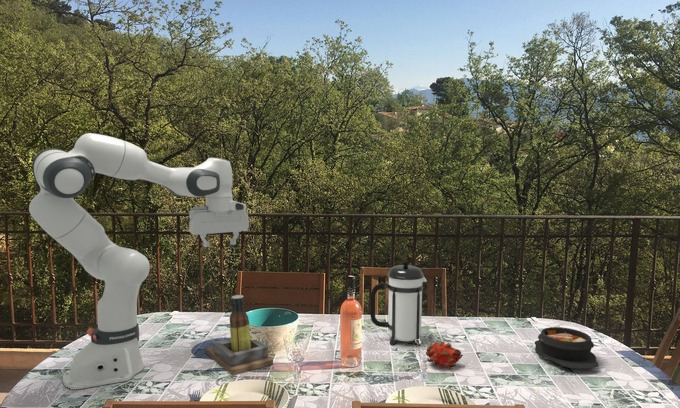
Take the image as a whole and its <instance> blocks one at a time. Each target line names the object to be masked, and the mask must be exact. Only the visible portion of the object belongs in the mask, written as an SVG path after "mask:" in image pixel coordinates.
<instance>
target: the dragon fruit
mask: <svg viewBox="0 0 680 408" xmlns="http://www.w3.org/2000/svg"><path fill="white" fill-rule="evenodd" d="M425 355H426V356H427V357H428V358H427V361H428V363H434V366H436V367H439V368H440V369H444V367H447V368H450V369H452V368H455V367H456V364H457V363H458V362H459V361H460V360H461V358H462V357H463V356H464V354H462V352H461V350H460V349H457V348H454V347H452V343H450V342H448V343H445V341H440V342H437V341H433V343H431V344H429V346H427V347H426V351H425Z"/></svg>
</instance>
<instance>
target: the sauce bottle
mask: <svg viewBox="0 0 680 408" xmlns="http://www.w3.org/2000/svg"><path fill="white" fill-rule="evenodd" d="M244 301H245V297H244V295H242V294H235V295H232V296H231V305H232V308H231V309H232V312H231V313H230V316H229V332H230V338H231V348H232V352H233V353H235V352H239V351H244V350H248V349H251V341H250V336H251V330H250V320H249V316H248V314H247V313H246V309H245V303H244Z"/></svg>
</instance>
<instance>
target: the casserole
mask: <svg viewBox="0 0 680 408" xmlns="http://www.w3.org/2000/svg"><path fill="white" fill-rule="evenodd" d="M534 346H535V348H534V351H535V352H536V354H538V355H539V356H540V357H542V358H543V359H545V360H548V361H551V362H552V363H556V364H558V365H559V366H562V367H564V368H568V369H574V370H592V369H595V368H599V366H600V364H599V363H598V361H597V356H596V355H595V354H594V353H593V352H592V349H593V348H594V346H595V343H594V342H593V341H592V338H591V336H590V335H589V334H587V333H585V332H583V331H580V330H578V329H573V328H568V327H563V326H562V327H560V326H557V327H556V326H555V327H554V326H553V327H552V326H551V327H545V328H542V330H541V332H540V334H538V335H537V340H535V341H534Z"/></svg>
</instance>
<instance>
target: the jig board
mask: <svg viewBox="0 0 680 408" xmlns="http://www.w3.org/2000/svg"><path fill="white" fill-rule="evenodd" d="M257 340H258V339H256V340H251V339H250V341H251V349H248V350H244V351H239V352H235V353H233V352H232V348H231V337H229V338H226V339H222V340H217V341H212V346H209V347H206V348H205V353H206V355H208V356H209V357H210V358H212V360H213V361H215V362H216V363H217V364H218V365H219V366H220V367H222V368H223V369H225V370H226V372H228V374H230V375H232V376H235V375H238V374H242V373H246V372H249V371H252V370H253V371H254V370H257V369H260V368H261V369H262V368H264V367H267V366H272V365H274V359H273V358H272V357H270V356H269V347H268V346H267V345H266V344H264V343H262V342H261V341H259V340H258V341H257Z"/></svg>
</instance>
